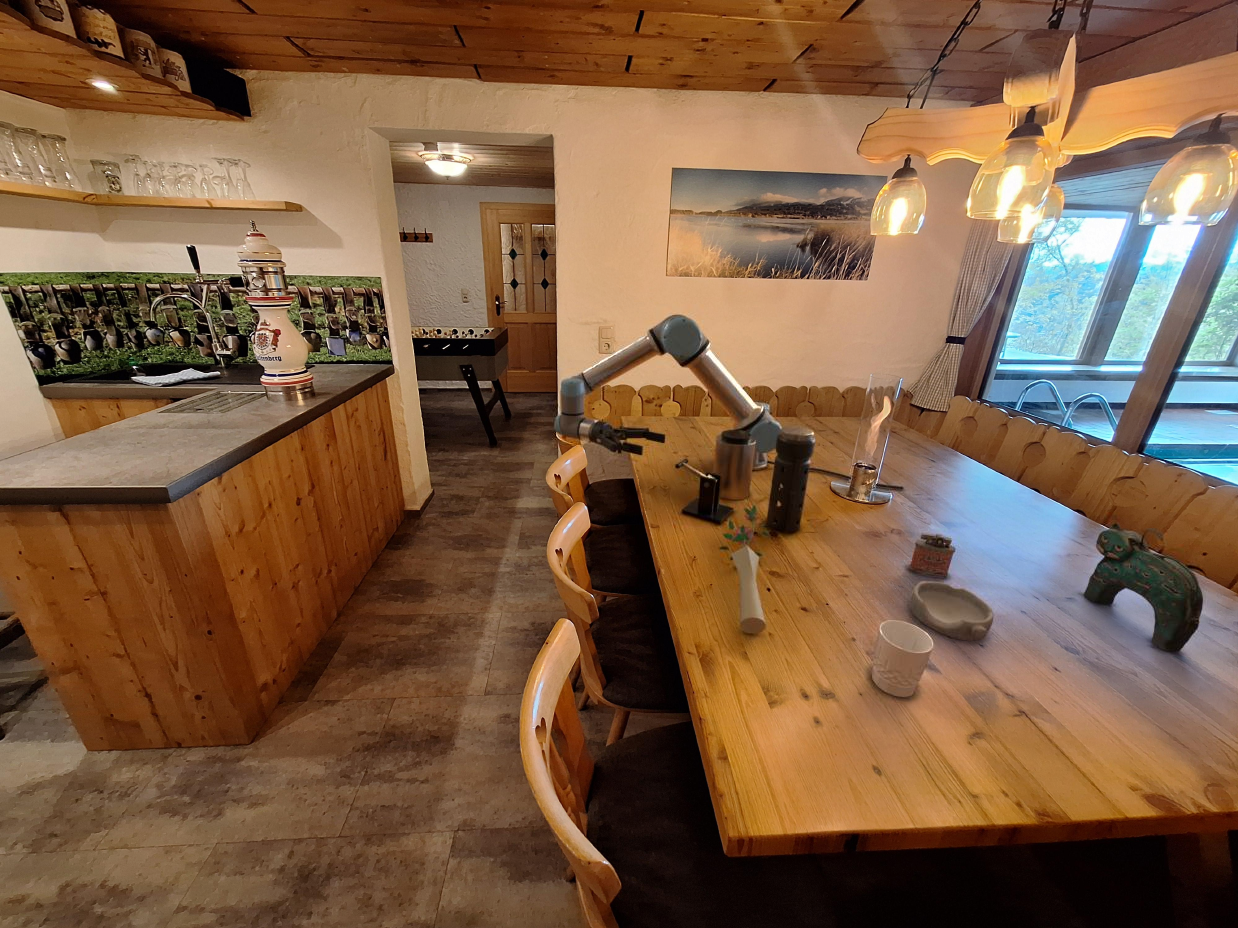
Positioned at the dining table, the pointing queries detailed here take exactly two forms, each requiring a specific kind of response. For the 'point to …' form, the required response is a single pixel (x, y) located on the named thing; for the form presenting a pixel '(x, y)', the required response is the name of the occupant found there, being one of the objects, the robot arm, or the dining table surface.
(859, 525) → the dining table surface
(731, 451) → the metal tumbler
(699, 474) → the switch lever
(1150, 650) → the dining table surface
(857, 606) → the dining table surface
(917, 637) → the white cup
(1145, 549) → the ceramic cat
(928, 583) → the dish
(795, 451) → the muzzle brake
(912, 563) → the lighter
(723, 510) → the switch base
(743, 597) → the flower vase
